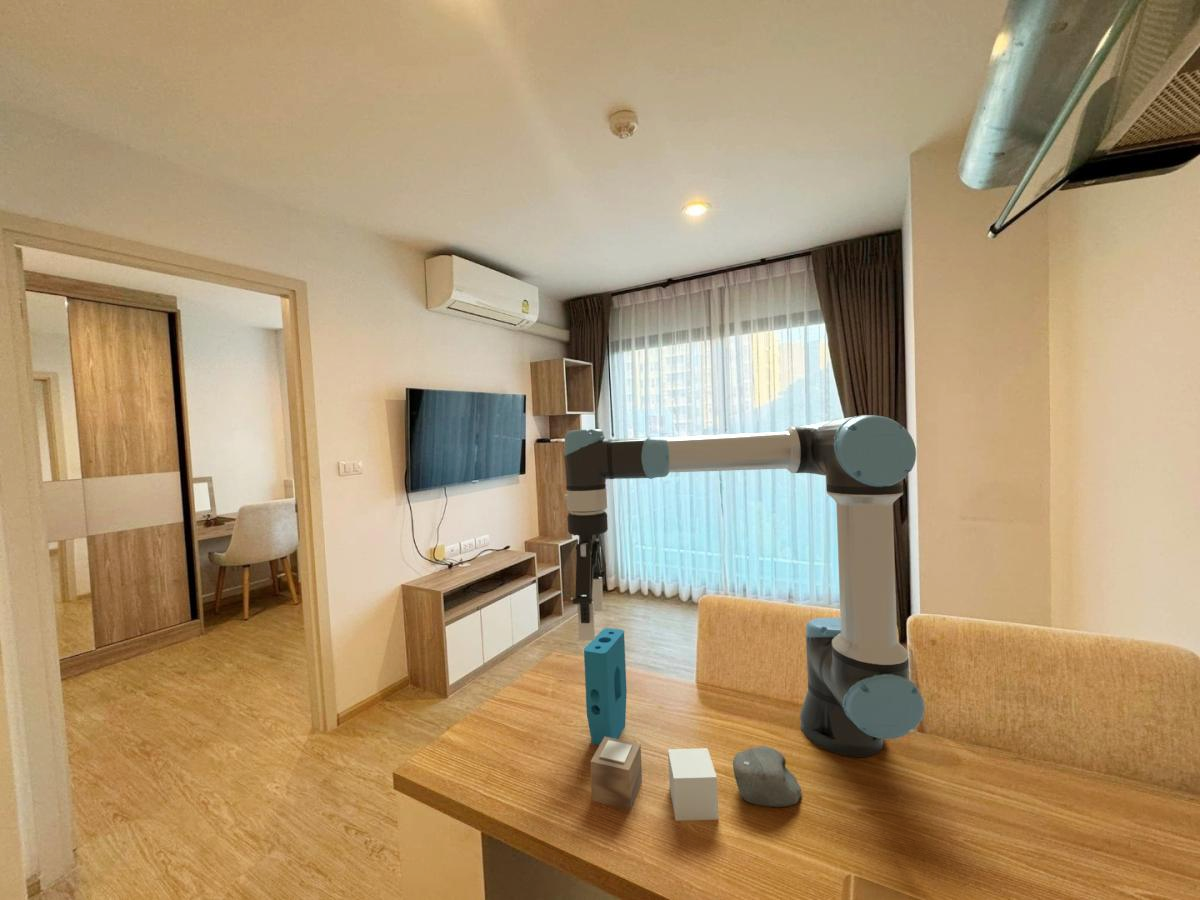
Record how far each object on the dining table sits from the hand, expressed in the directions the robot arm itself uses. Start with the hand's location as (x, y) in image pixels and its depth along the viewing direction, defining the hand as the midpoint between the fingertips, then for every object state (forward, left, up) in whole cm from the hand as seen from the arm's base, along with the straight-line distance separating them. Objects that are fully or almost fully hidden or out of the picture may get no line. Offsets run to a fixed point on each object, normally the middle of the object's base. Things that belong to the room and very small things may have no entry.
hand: (591, 624), depth 85 cm
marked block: (-4, +5, -28) cm, 29 cm away
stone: (-30, +4, -28) cm, 41 cm away
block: (-1, -11, -28) cm, 30 cm away
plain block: (-17, +7, -28) cm, 33 cm away
